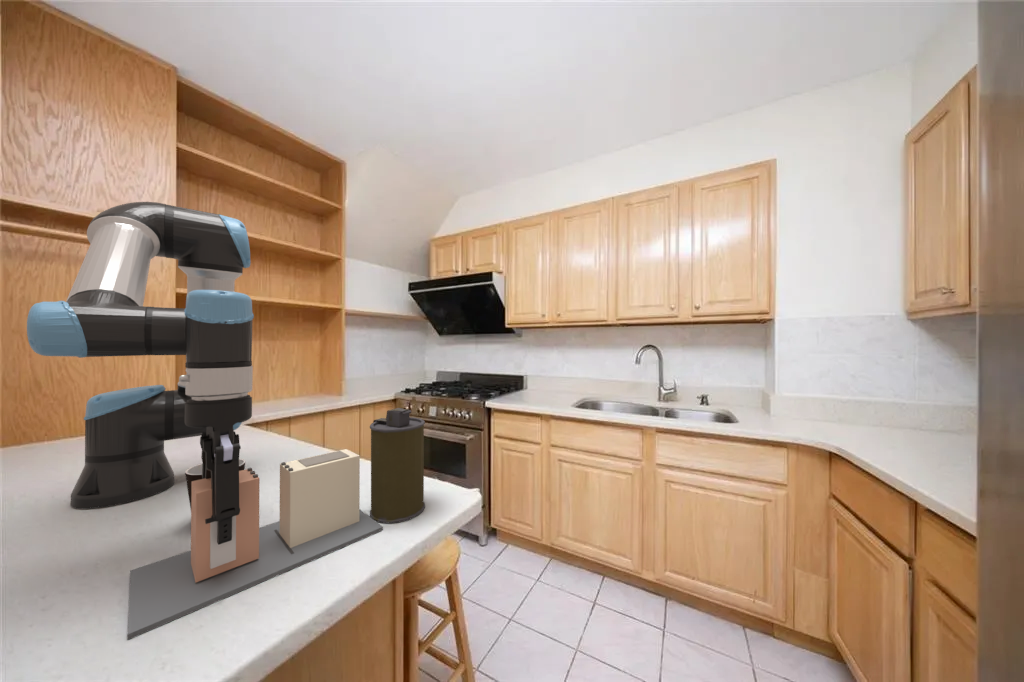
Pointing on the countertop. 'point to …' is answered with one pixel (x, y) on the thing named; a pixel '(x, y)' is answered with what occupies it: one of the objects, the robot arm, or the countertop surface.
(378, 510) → the canister
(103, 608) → the countertop surface
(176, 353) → the robot arm
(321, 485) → the beige box with buttons
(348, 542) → the mat
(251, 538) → the stub
